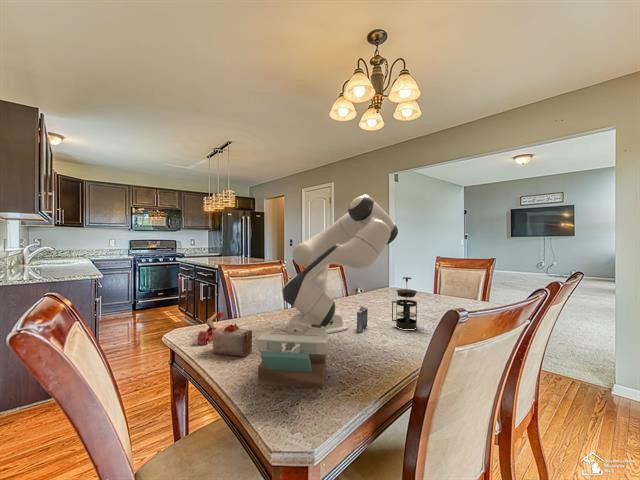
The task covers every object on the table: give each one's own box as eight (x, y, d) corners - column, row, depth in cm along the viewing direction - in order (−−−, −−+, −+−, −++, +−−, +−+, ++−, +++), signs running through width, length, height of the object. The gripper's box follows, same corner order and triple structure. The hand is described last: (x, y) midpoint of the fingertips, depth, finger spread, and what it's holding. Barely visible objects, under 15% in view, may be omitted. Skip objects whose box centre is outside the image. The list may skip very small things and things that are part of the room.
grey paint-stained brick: (208, 355, 102) (208, 326, 102) (221, 346, 110) (221, 320, 109) (243, 359, 98) (244, 330, 98) (254, 350, 106) (255, 323, 106)
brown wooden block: (268, 367, 93) (269, 351, 93) (326, 370, 91) (326, 353, 91) (258, 384, 82) (258, 366, 82) (322, 388, 80) (323, 369, 80)
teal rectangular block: (268, 364, 81) (261, 351, 74) (311, 367, 79) (308, 353, 73) (267, 369, 80) (260, 356, 73) (311, 371, 79) (307, 358, 72)
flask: (361, 333, 127) (361, 308, 127) (354, 331, 128) (354, 307, 128) (368, 327, 135) (368, 304, 135) (362, 326, 136) (362, 303, 136)
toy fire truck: (196, 345, 111) (196, 319, 111) (216, 333, 124) (216, 310, 124) (204, 345, 110) (204, 320, 110) (223, 334, 124) (224, 311, 123)
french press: (416, 325, 138) (417, 276, 138) (420, 331, 129) (421, 279, 129) (391, 324, 140) (391, 275, 140) (392, 330, 131) (393, 278, 131)
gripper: (263, 323, 90) (248, 340, 77) (330, 326, 88) (326, 343, 75) (263, 344, 91) (248, 364, 77) (330, 347, 88) (326, 368, 75)
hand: (287, 354), depth 76 cm, fingers closed, pressing on teal rectangular block
